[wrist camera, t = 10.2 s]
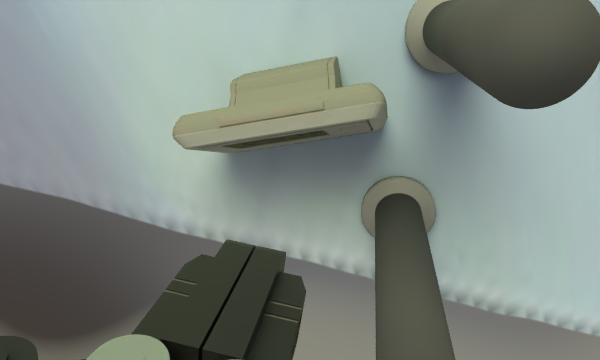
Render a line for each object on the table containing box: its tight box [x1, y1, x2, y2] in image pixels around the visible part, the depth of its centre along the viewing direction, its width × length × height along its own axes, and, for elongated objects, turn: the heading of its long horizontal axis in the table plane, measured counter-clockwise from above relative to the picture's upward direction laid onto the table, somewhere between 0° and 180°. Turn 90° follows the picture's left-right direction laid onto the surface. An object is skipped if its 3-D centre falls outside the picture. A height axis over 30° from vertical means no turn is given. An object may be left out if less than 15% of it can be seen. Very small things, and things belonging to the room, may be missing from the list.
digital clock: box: [173, 57, 388, 153], centre depth 35 cm, size 16×9×11 cm, turn 90°
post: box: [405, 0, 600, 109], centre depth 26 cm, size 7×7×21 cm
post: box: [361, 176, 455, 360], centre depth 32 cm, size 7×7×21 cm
